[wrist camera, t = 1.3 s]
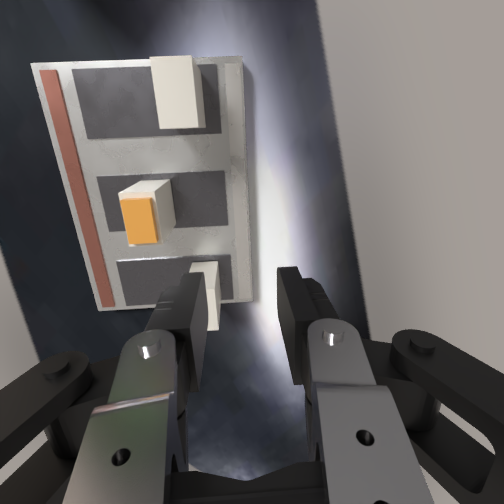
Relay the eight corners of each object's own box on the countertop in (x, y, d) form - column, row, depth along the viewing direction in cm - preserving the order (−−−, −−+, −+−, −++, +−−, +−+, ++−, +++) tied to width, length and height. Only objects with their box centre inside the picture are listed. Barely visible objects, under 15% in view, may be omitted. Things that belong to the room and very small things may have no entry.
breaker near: (168, 72, 23) (149, 56, 18) (200, 71, 23) (191, 55, 18) (175, 128, 25) (159, 128, 20) (205, 127, 25) (198, 127, 20)
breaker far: (192, 262, 29) (183, 290, 24) (217, 261, 29) (214, 288, 24) (196, 298, 31) (189, 331, 26) (221, 296, 31) (218, 329, 26)
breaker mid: (140, 180, 26) (115, 194, 20) (169, 179, 26) (152, 193, 20) (148, 224, 28) (126, 249, 22) (176, 223, 28) (161, 247, 22)
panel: (45, 68, 25) (28, 62, 23) (241, 61, 25) (242, 55, 23) (106, 300, 33) (97, 312, 31) (252, 291, 33) (253, 302, 31)
